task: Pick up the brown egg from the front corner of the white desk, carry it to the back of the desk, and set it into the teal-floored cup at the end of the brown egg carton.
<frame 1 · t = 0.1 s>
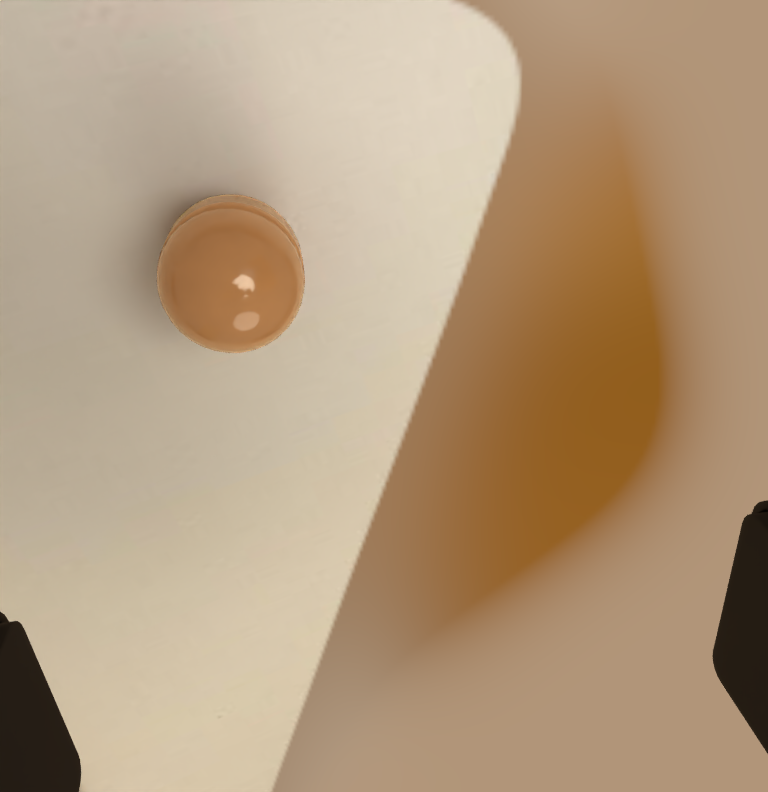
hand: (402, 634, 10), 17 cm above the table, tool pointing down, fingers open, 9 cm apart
egg: (236, 244, 24), on the table
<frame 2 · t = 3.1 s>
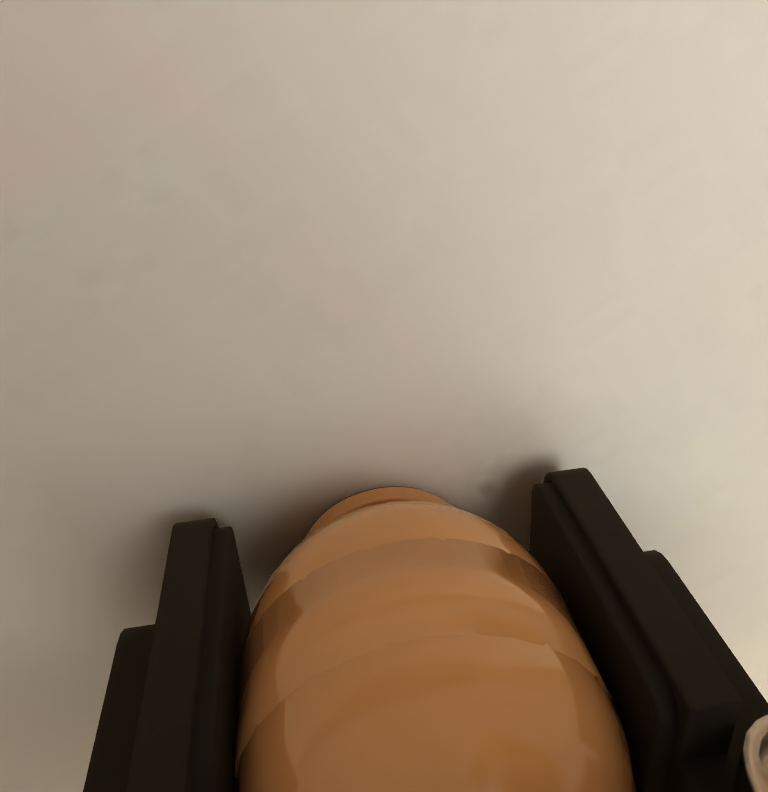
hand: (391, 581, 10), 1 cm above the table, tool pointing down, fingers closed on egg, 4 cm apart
egg: (386, 556, 11), on the table, touching gripper
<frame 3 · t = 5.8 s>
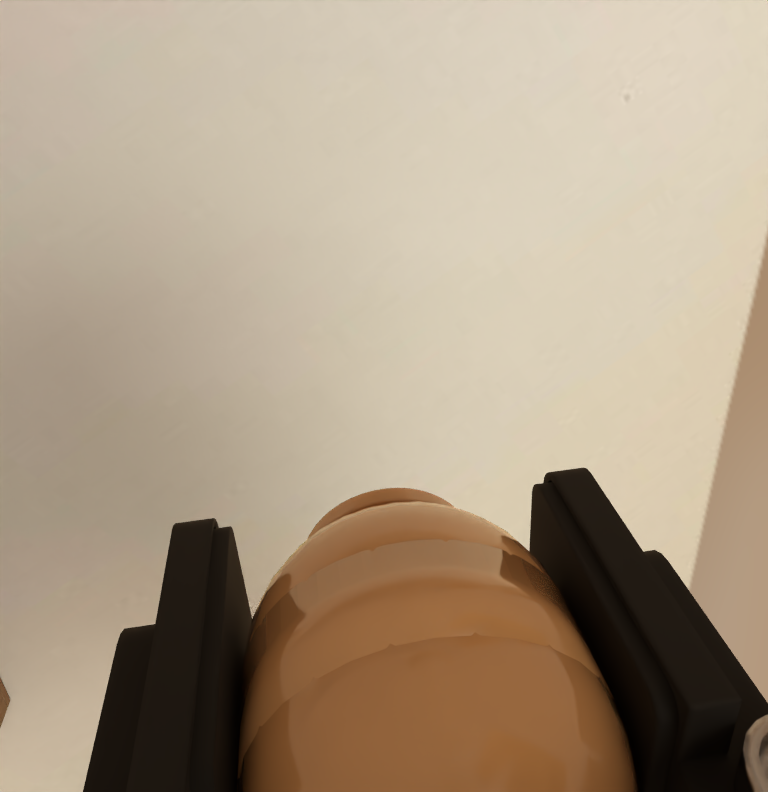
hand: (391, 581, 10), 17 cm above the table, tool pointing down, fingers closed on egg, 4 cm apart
egg: (388, 557, 11), point 17 cm above the table, touching gripper
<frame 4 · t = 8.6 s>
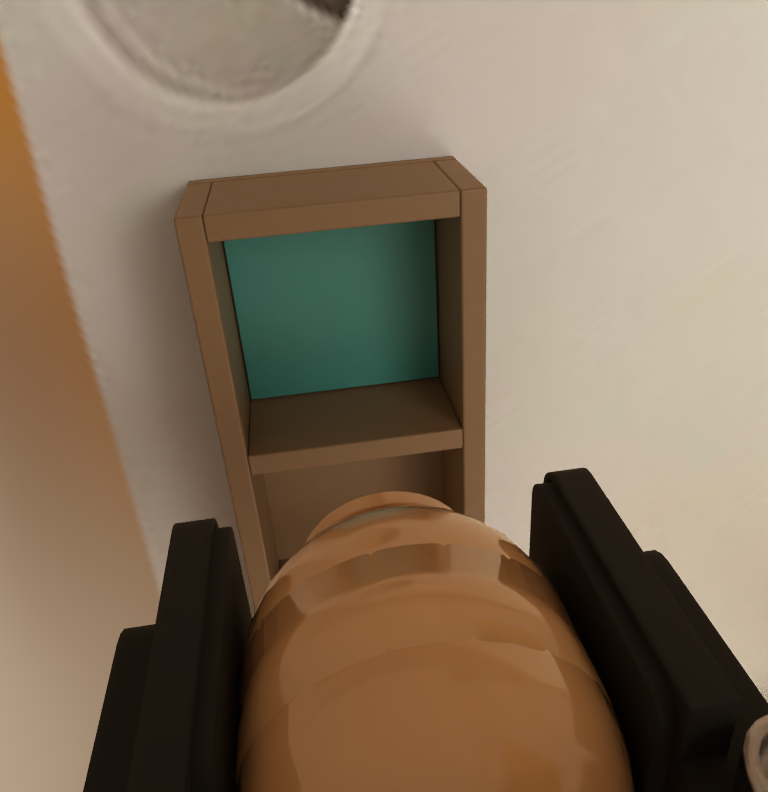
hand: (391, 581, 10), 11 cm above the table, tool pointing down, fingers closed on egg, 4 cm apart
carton: (354, 472, 23), on the table
egg: (386, 560, 11), point 11 cm above the table, touching gripper
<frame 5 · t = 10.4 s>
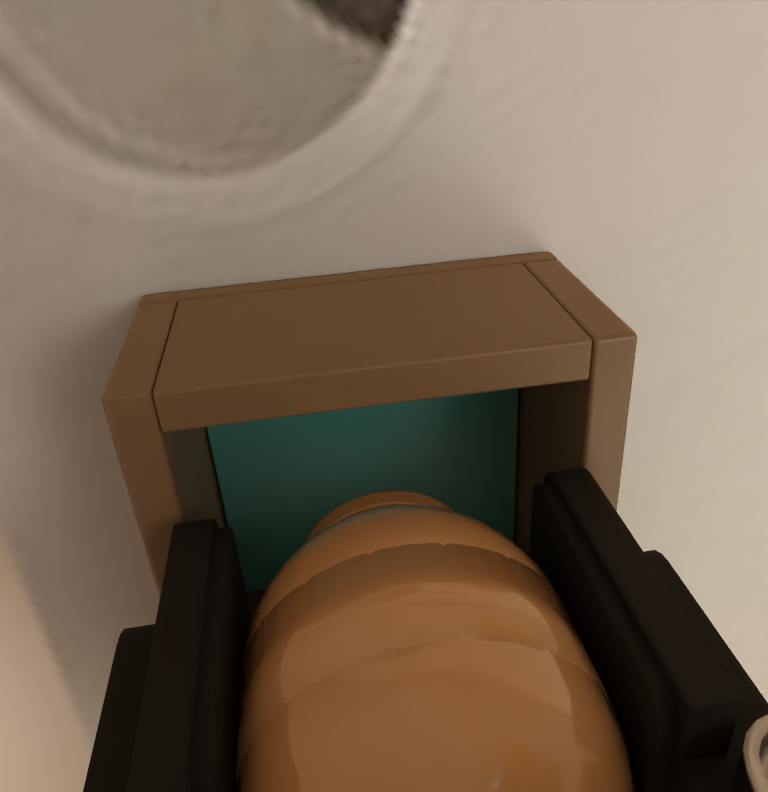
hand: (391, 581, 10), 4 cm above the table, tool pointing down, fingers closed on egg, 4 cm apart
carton: (386, 667, 17), on the table
egg: (386, 560, 11), point 3 cm above the table, touching gripper
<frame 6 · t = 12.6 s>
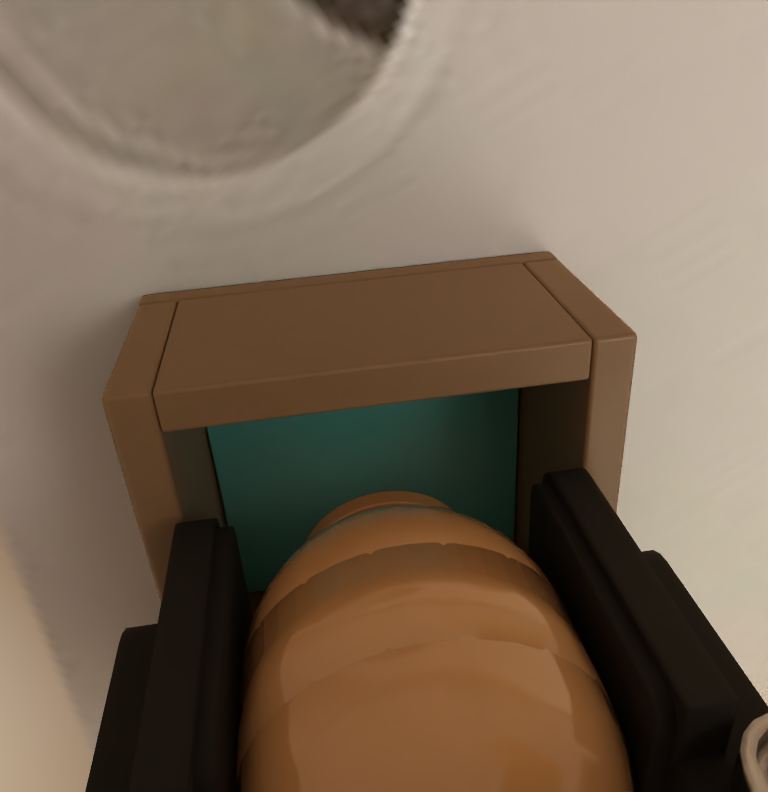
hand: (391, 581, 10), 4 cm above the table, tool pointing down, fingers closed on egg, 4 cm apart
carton: (386, 667, 17), on the table
egg: (386, 560, 11), point 3 cm above the table, touching gripper
when the fingers open (4 cm above the table, at t = 14.4 s): egg drops 3 cm, resting on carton.
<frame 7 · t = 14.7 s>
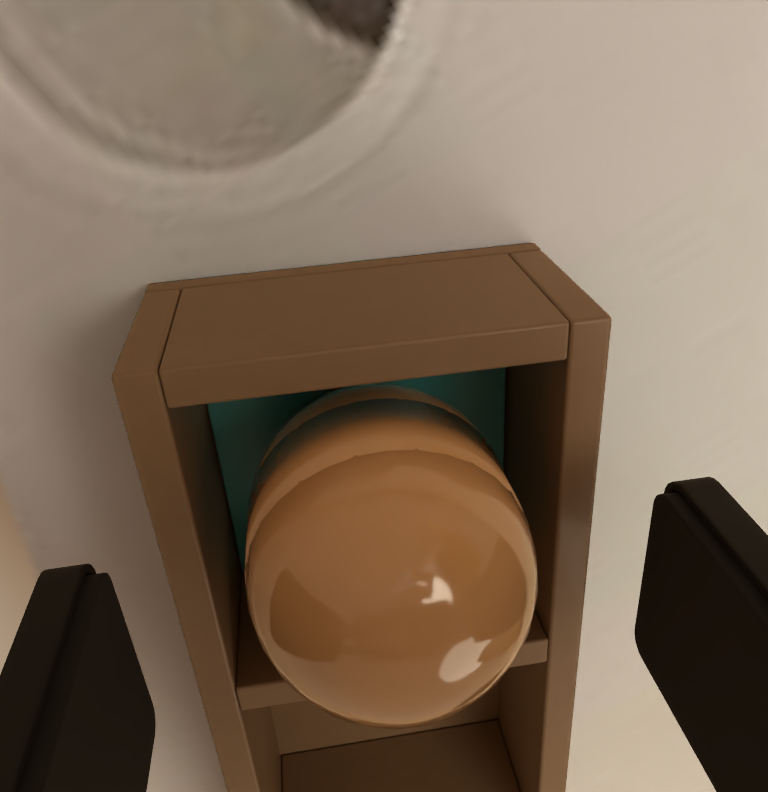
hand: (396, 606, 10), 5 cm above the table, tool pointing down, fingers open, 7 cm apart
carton: (381, 646, 17), on the table
egg: (363, 442, 14), point 1 cm above the table, touching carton
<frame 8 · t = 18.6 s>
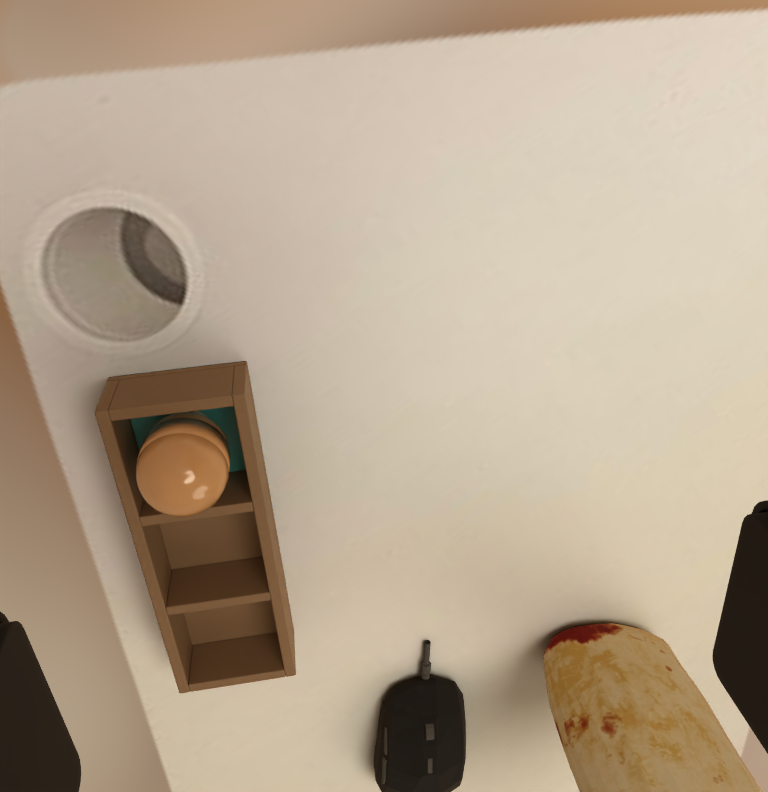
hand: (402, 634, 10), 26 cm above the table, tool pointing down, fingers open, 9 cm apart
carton: (212, 519, 41), on the table
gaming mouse: (419, 712, 51), on the table
food model: (591, 639, 50), on the table
egg: (189, 432, 37), point 1 cm above the table, touching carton
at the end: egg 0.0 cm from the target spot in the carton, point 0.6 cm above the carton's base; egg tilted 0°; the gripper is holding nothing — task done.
